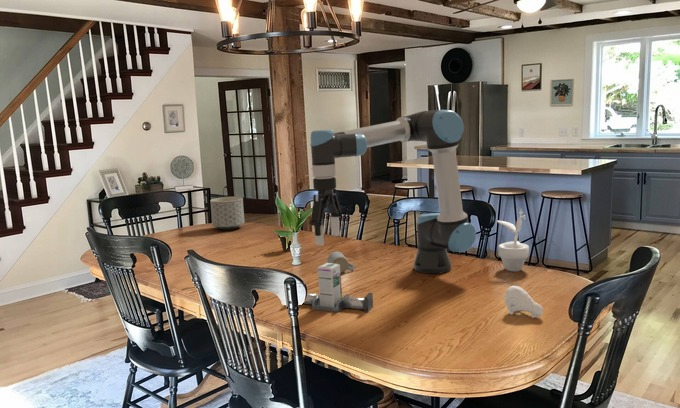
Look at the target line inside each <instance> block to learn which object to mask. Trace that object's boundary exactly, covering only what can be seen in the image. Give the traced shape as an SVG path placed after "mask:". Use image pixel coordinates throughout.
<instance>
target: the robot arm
mask: <svg viewBox="0 0 680 408" xmlns="http://www.w3.org/2000/svg"><path fill="white" fill-rule="evenodd" d="M464 126H465V125H464V122H463V119H462V117H461V115H459V114H458V113H457V112H455V111H453V110H451V109H450V110H448V109H436V110H423V111H419V112H416V113H412V114H409V115H405V116H400V117H398V118H397V119H396V120H394V121H389V122H388V121H387V122H383V123H379V124H373V125H369V126H363V127H360V128H359V127H358V128H353V129H349V130H343V131H340V132H339V131H338V132H334V130H333V129H320V130H317V129H316V130H313V131H311V133H310V152H311V170H312V177H313V179H312V184H313V189H314V191H317V194H313V200H312V201H313V202H312V203H313V204H312V210H311V215H310V216H311V217H310V226H312V227H314V241H315V242H314V243H315V246H324V245H325V242H324V241H325V239H324V238H325V236H324V225H323V224H322V223H323V219H324V216H325V211H326V208H328V211H329V213H330V215H331V217H330V229H331V230H330V231H331V236H335V237H339V236H340V235H341V234H340V218H339V217H342V209H341V206H340V202H339V201H340V200H339V198H338V193H337V189H336V188H337V178H336V177H335V176H337V173H336V159H339V158H348V157H355V158H356V157H359V156H360V157H361V156H363V155H366V152H367V150H368V148H371V147H376V146H380V145H385V144H390V143H394V142H399V141H400V142H401V143H407V142H425V143H426V148H427V151H429V152H431V155H432V161H433V169H434V176H435V185H436V193H437V199H438V207H439V212H431V213H423V214H420V215H418V216H417V219H416V235H417V252H416V256H415V259H414V261H413V262H414V263H413V269H414V270H415V271H416V272H418V273H421V274H432V275H434V274H444V273H448V272H450V271H451V270H452V262H451V259H450V256H449V253H448V251H447V250H449V251H451V252H455V253H464V252H466V251H469V249H471V247H472V246H473V244H474V243H475V241H476V238H477V237H476V236H477V231H476V228H475V226H474V225H473V224H472V223H470V222H469V215H468V213H466V212H465V211H464V210H463V209H464V208H463V201H462V193H461V186H460V175H459V167H458V161H457V160H458V159H457V151H456V149H457V148H458V147H459V145H460V143H459V141H460V140H461V138H462V137H463V136H462V135H463V134H464V131H465V129H464V128H465V127H464Z"/></svg>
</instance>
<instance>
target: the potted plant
mask: <svg viewBox="0 0 680 408" xmlns="http://www.w3.org/2000/svg"><path fill="white" fill-rule="evenodd" d="M518 213H519V215H520V216H519V217H518V218H517V220H516V224H515V225H514V224H513V223H512V222H507V221H505V220H504V221H503V220H496V222H497V223H498V224H499V225H502V226H503V227H506V228H507V229H508V230H509V231H510V232H511V233H513V234H514V237H513V240H512V241H507V242H506V241H505V242H504V243H500V244H499V245H498V249H497V251H498V257H500V258H501V261H502V265H503V267H504V269H505V270H506V271H508V272H515V273H516V272H520V271H522V270H523V267H524V264H525V262H526V259H527V258H529V256H530V245H528V244H527V243H522V242H520V241H519V240H518V237H519V232H520V230H521V229H522V226H523V225H522V223H523V222H522V219H523V220H526V215H525V214H524V211H523V210H522V209H520V211H518ZM523 214H524V215H523Z"/></svg>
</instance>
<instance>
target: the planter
mask: <svg viewBox="0 0 680 408" xmlns="http://www.w3.org/2000/svg"><path fill="white" fill-rule="evenodd" d="M209 201H210V211H211V213H210V215H211V224H212V226H213V227H215V228H217V229H220V230H222V231H232V230H236V229H239V227H241V225H244V224H246V223H245V213H244V212H245V211H244V209H245V208H244V199H243V197H241V196H223V197H221V196H220V197H217V198H212V199H210V200H209Z"/></svg>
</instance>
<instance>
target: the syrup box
mask: <svg viewBox="0 0 680 408" xmlns="http://www.w3.org/2000/svg"><path fill="white" fill-rule="evenodd" d="M341 274H342V273H340V264H336V263H328V262H326V263H323V264H322V265H320V266H318V267H317V278H318V279H317V280H318V293H319V294H318V295H319V296H320V306H325V307H336V303H337V302H338V301H339V300H340V299H342V298H343V289H342V276H341Z"/></svg>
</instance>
